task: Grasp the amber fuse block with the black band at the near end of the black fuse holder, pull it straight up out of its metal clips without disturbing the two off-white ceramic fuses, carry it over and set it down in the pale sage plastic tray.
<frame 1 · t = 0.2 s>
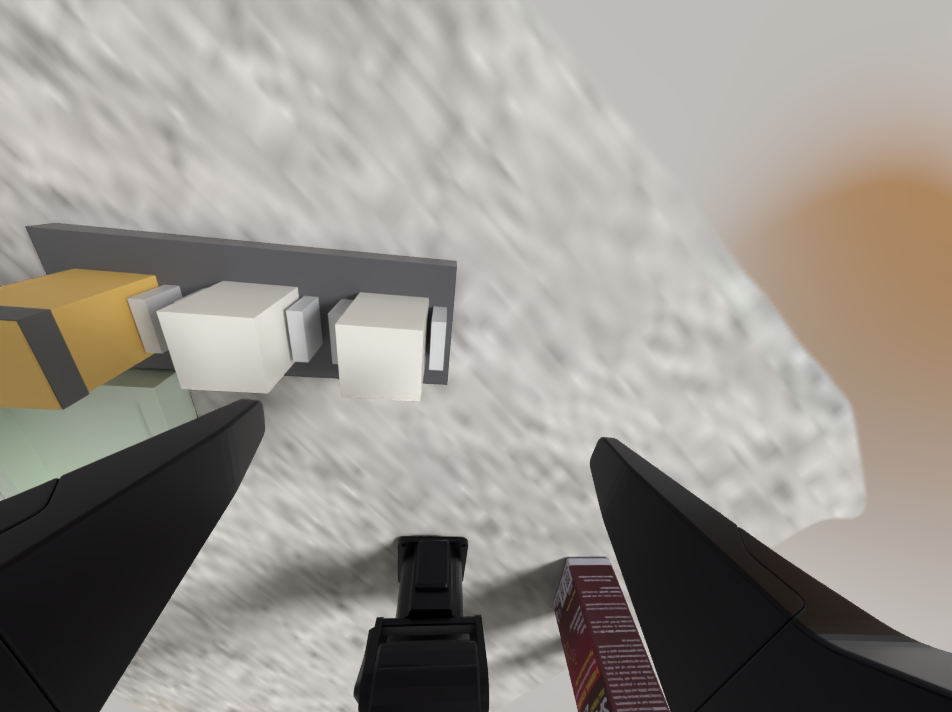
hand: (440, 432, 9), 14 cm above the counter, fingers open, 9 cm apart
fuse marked: (127, 306, 20), point 1 cm above the counter, touching fuse holder
fuse holder: (277, 308, 22), on the counter
supplement box: (577, 578, 38), on the counter
tray: (113, 436, 26), on the counter
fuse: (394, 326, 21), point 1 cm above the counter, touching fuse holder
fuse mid: (266, 316, 21), point 1 cm above the counter, touching fuse holder
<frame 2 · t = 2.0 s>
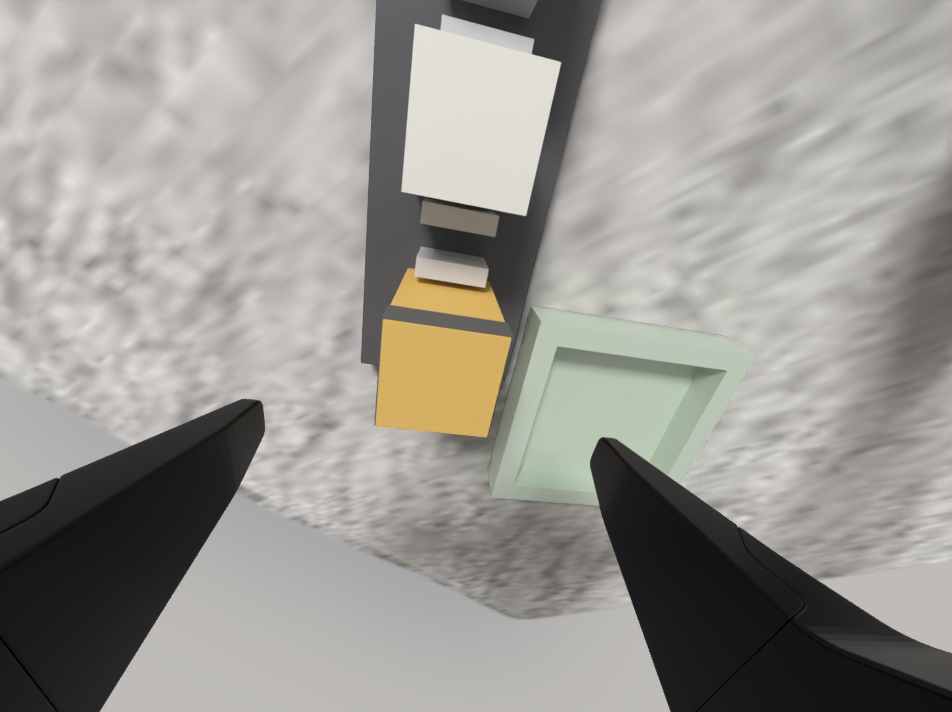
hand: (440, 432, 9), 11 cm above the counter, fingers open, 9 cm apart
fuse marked: (443, 313, 18), point 1 cm above the counter, touching fuse holder
fuse holder: (467, 148, 16), on the counter
tray: (597, 407, 23), on the counter
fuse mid: (468, 145, 15), point 1 cm above the counter, touching fuse holder
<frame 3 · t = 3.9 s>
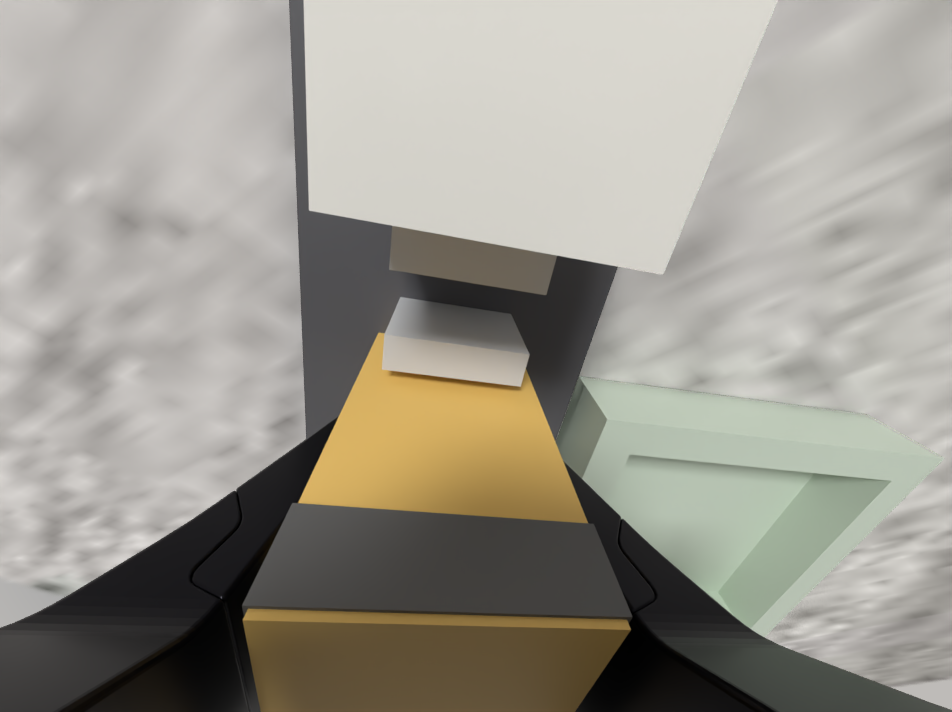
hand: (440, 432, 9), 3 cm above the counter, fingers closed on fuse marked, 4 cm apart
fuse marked: (441, 401, 11), point 1 cm above the counter, touching fuse holder, gripper
fuse holder: (483, 121, 9), on the counter
tray: (664, 509, 16), on the counter
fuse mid: (489, 110, 7), point 1 cm above the counter, touching fuse holder
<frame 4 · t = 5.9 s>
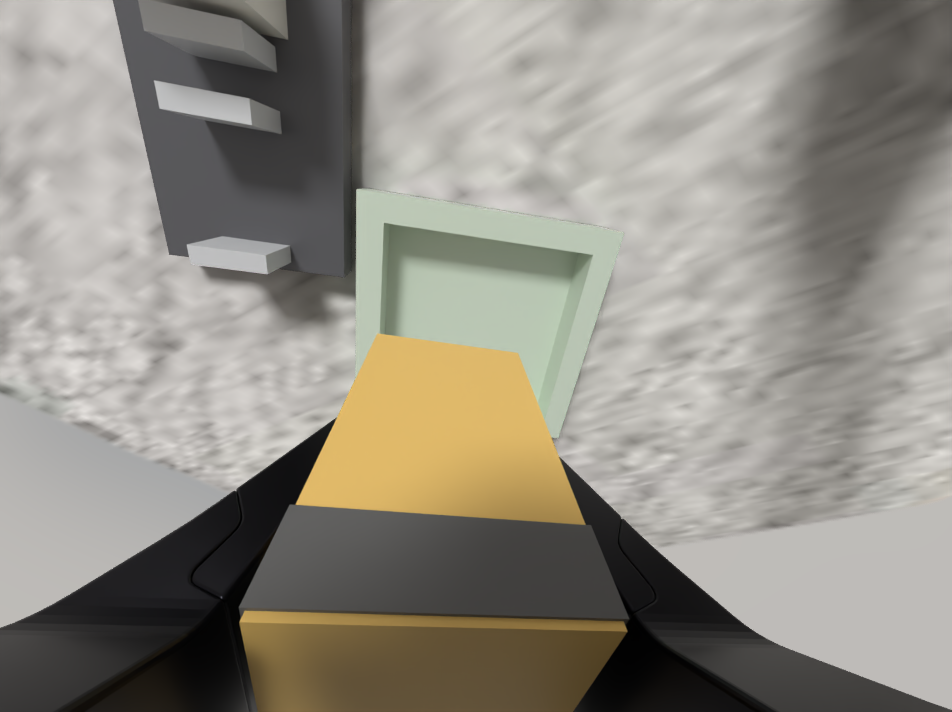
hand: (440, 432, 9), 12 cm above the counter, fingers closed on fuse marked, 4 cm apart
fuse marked: (440, 401, 11), point 10 cm above the counter, touching gripper
tray: (473, 320, 21), on the counter
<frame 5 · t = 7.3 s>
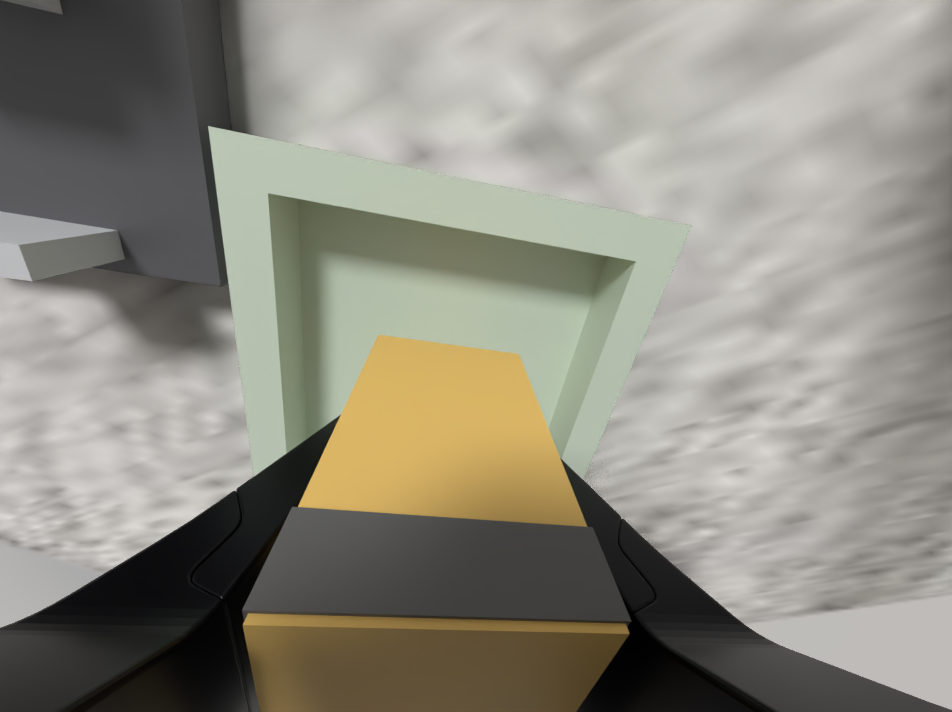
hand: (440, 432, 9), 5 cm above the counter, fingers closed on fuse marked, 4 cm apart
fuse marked: (440, 402, 11), point 3 cm above the counter, touching gripper
tray: (441, 353, 14), on the counter
when the fingers open (3 cm above the counter, at t = 8.4 s): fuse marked drops 1 cm, resting on tray.
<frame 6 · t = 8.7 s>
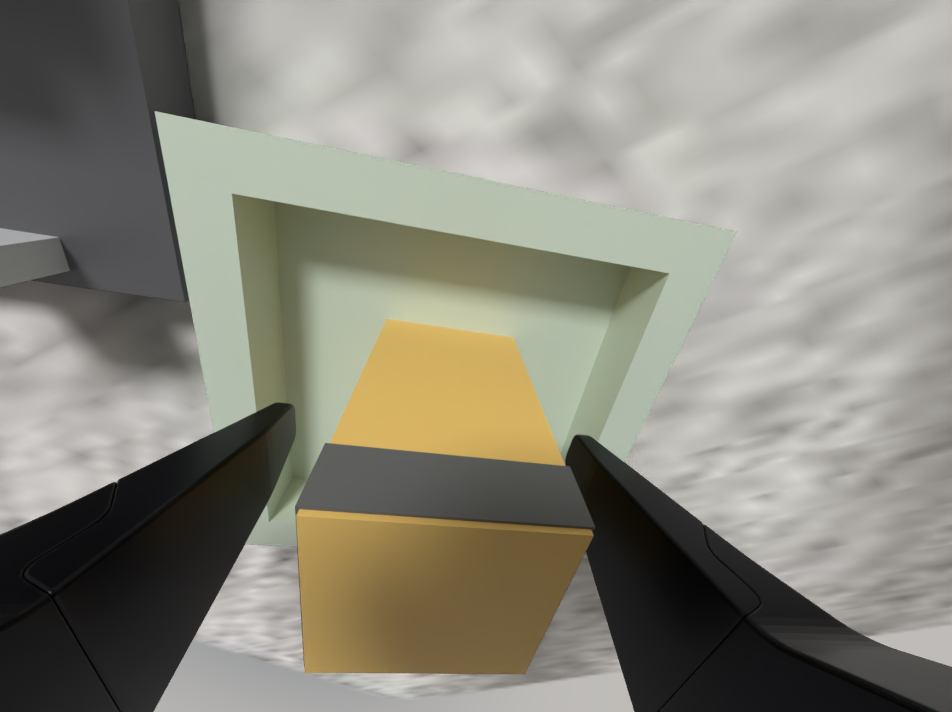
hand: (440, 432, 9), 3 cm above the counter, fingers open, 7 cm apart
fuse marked: (442, 382, 12), point 1 cm above the counter, touching tray
tray: (441, 373, 12), on the counter
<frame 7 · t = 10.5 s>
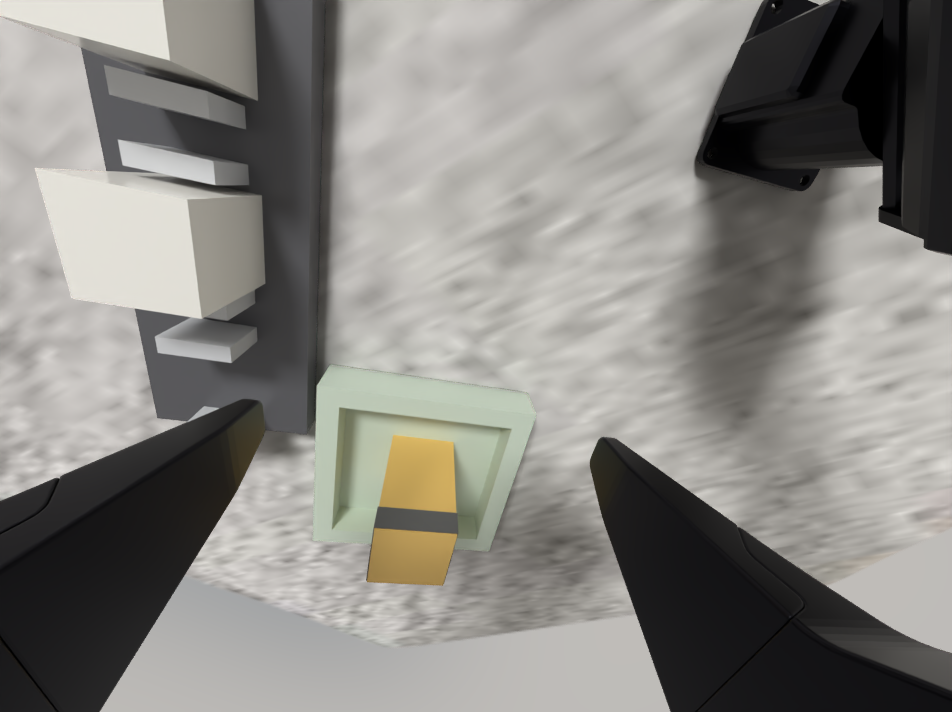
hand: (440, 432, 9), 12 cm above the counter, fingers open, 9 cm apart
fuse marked: (419, 461, 24), point 1 cm above the counter, touching tray
fuse holder: (234, 228, 17), on the counter
tray: (419, 454, 24), on the counter
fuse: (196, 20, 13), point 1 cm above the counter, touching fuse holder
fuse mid: (216, 232, 16), point 1 cm above the counter, touching fuse holder
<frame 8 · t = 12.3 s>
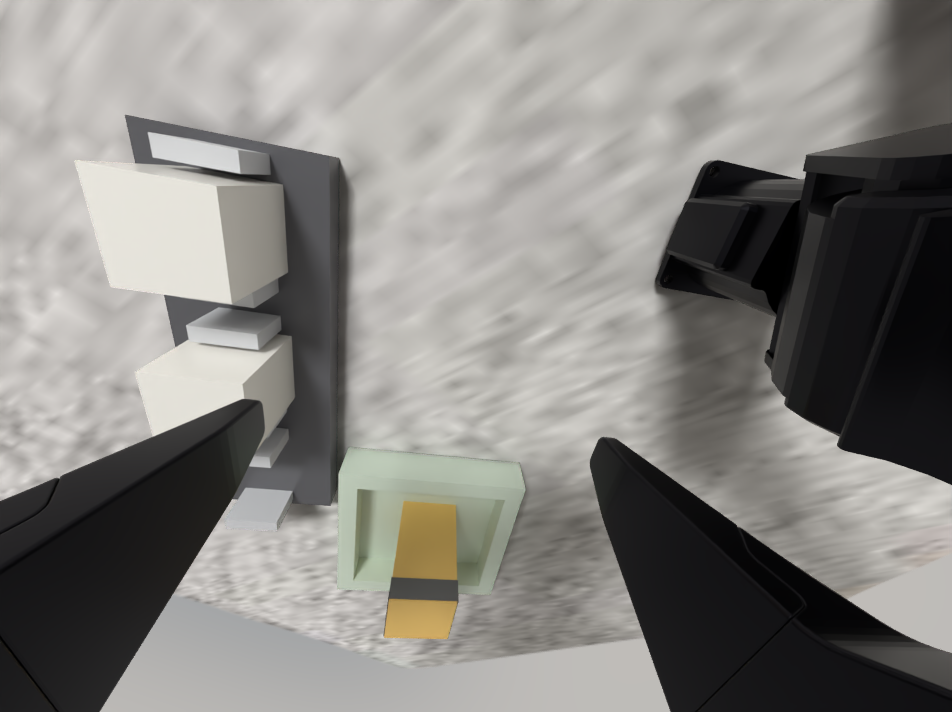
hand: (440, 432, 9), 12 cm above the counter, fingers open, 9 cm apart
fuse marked: (426, 520, 27), point 1 cm above the counter, touching tray
fuse holder: (268, 351, 21), on the counter
tray: (426, 513, 28), on the counter
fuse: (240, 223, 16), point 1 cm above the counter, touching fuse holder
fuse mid: (255, 363, 19), point 1 cm above the counter, touching fuse holder
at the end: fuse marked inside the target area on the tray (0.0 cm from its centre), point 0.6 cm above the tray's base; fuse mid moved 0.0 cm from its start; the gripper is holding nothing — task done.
